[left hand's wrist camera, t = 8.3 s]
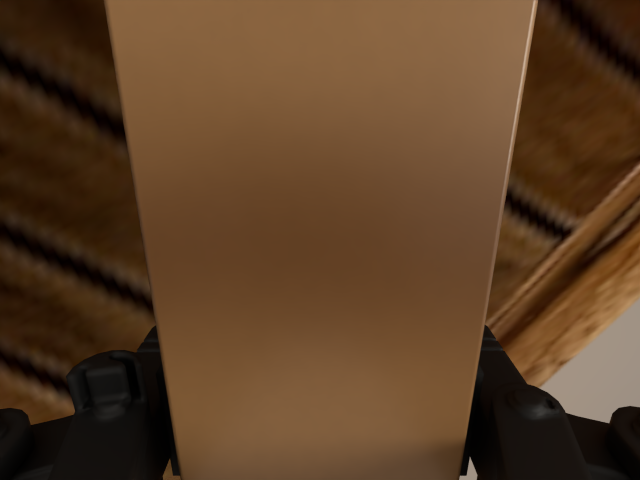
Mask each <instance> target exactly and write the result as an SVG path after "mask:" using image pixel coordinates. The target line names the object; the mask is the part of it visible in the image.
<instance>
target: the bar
mask: <svg viewBox="0 0 640 480" xmlns="http://www.w3.org/2000/svg"><path fill="white" fill-rule="evenodd" d="M537 3H538V0H104V4H105V10H106V16H107V22H108V29H109V35H110V41H111V47H112V54H113V60H114V66H115V72H116V78H117V85H118V91H119V97H120V103H121V110H122V116H123V122H124V128H125V134H126V141H127V147H128V153H129V159H130V166H131V172H132V178H133V184H134V191H135V197H136V203H137V209H138V215H139V222H140V228H141V234H142V240H143V247H144V253H145V259H146V265H147V271H148V278H149V284H150V290H151V296H152V303H153V309H154V315H155V321H156V328H157V334H158V340H159V346H160V352H161V359H162V365H163V371H164V377H165V384H166V390H167V396H168V402H169V409H170V415H171V421H172V427H173V433H174V440H175V446H176V452H177V458H178V465H179V471H180V477H181V480H459V477H460V471H461V465H462V459H463V453H464V447H465V441H466V435H467V428H468V422H469V416H470V410H471V404H472V398H473V392H474V386H475V380H476V374H477V368H478V362H479V356H480V350H481V343H482V337H483V331H484V325H485V319H486V313H487V307H488V301H489V295H490V289H491V283H492V277H493V271H494V265H495V258H496V252H497V246H498V240H499V234H500V228H501V222H502V216H503V210H504V204H505V198H506V192H507V186H508V180H509V173H510V167H511V161H512V155H513V149H514V143H515V137H516V131H517V125H518V119H519V113H520V107H521V101H522V95H523V88H524V82H525V76H526V70H527V64H528V58H529V52H530V46H531V40H532V34H533V28H534V22H535V16H536V10H537Z"/></svg>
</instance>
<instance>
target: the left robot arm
mask: <svg viewBox="0 0 640 480" xmlns="http://www.w3.org/2000/svg"><path fill="white" fill-rule="evenodd" d="M66 378H67V382H68V386H69V389H70V393H71V397H72V401H73V404H74V408H75V413H74V415H71V416H68V417H64V418H60V419H56V420H52V421H47V422H43V423H39V424H34V425H31V424H30V421H29V418H28V415H27V414H26V413H25V412H23V411H22V410H20V409H13V408H6V409H0V480H163V474H164V471H165V469H166V466H167V464H168V461H169V459H170V460H171V466H172V471H173V476H180V471H179V465H178V458H177V452H176V446H175V440H174V433H173V427H172V421H171V415H170V409H169V402H168V396H167V390H166V384H165V377H164V371H163V365H162V359H161V352H160V346H159V340H158V334H157V328H156V326H154V327H153V328H152V329H151V331H150V332H149V333H148V335H147V336H146V338H145V339H144V342H142V344H141V345H140V347H139V348H138V350H137V352H135V353H134V352H130V351H126V350H112V351H108V352H103V353H99V354H96V355H94V356H92V357H89V358H87V359H85V360H83V361H82V362H80V363H79V364H77V365H76V366H75V367H73V368H72V370H71V371H70V372H69V373H68V375H67V376H66ZM470 457H471V460H472V462H473V465H474V467H475V470H476V472H477V475H478V476H477V480H640V407H633V406H628V407H622V408H618V409H617V410H616V411H615V412H614V413H613V414H612V417H611V420H610V423H605V422H600V421H596V420H592V419H587V418H583V417H578V416H575V415H571V414H568V413H565V410H564V409H563V407H562V406H561V405H560V403H559V401H557V400H556V399H555V398H554V397H552V396H551V395H550V394H549V393H547V392H545V391H543V390H541V389H539V388H537V387H535V386H532V385H528V384H527V383H526V382H525V380H524V379H523V377H522V376H521V374H520V373H519V371H518V370H517V369H516V367H515V366H514V364H513V363H512V361H511V360H510V358H509V357H508V356H507V354H506V353H505V351H503V348H502V347H501V345H500V344H499V342H498V341H496V338H495V337H494V335H493V334H492V332H491V331H490V329H489V328H488V327H487V326H486V325H484V331H483V337H482V343H481V350H480V356H479V362H478V368H477V374H476V380H475V386H474V392H473V398H472V404H471V410H470V416H469V422H468V428H467V435H466V441H465V447H464V453H463V459H462V465H461V471H460V476H466V475H467V470H468V464H469V458H470Z"/></svg>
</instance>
